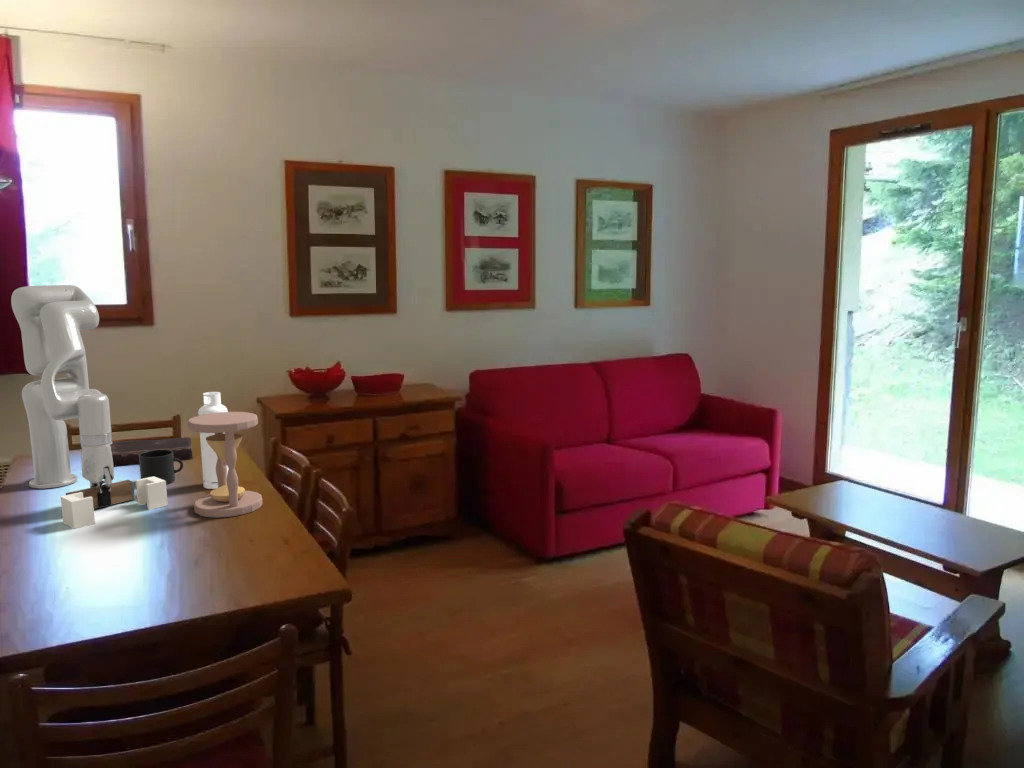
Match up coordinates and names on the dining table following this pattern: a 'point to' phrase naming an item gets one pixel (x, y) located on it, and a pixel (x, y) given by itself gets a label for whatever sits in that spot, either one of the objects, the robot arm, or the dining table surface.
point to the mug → (159, 465)
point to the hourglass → (225, 464)
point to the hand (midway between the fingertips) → (101, 503)
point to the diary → (149, 449)
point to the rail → (111, 492)
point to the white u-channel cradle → (82, 510)
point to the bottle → (206, 451)
